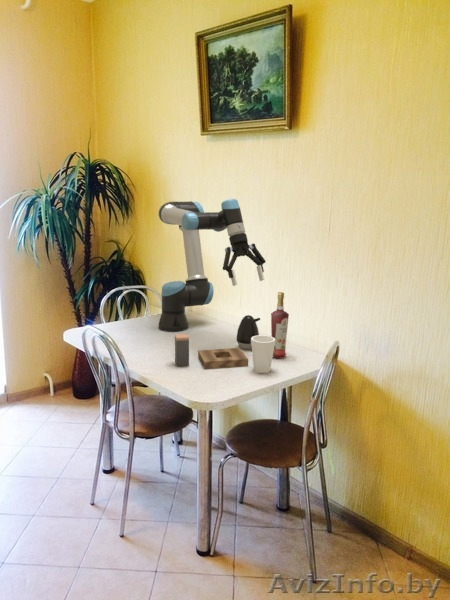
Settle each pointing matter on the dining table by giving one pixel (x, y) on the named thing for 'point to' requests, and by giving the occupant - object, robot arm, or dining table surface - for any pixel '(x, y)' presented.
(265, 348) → the foam cup
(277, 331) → the liquor
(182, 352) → the grey tall block
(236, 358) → the socket plate
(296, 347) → the dining table surface
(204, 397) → the dining table surface
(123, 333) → the dining table surface
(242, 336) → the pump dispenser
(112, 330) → the dining table surface
